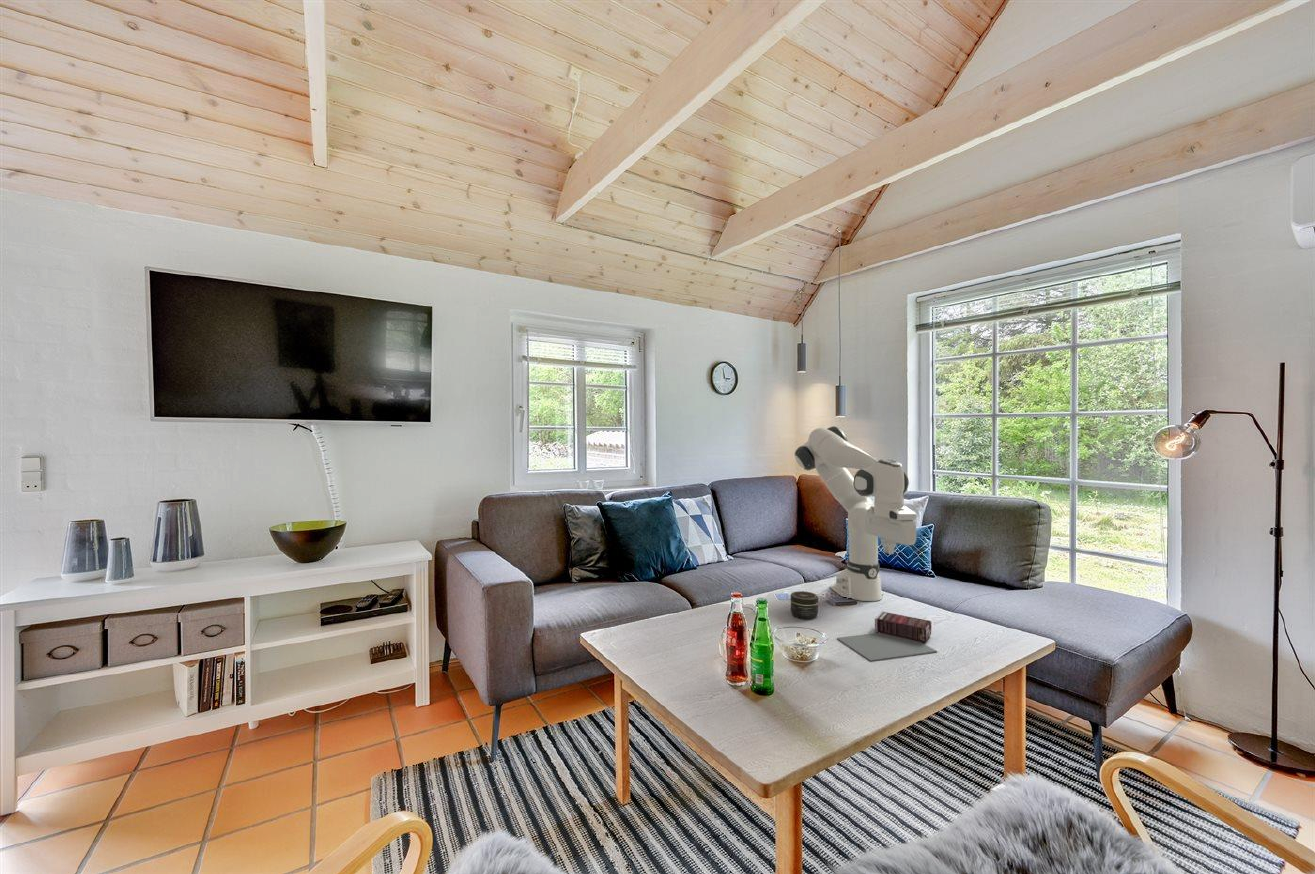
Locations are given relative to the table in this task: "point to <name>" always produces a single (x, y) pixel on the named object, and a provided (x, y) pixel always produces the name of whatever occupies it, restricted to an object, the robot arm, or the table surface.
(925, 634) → the supplement box
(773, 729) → the table surface
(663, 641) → the table surface
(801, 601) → the jar
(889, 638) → the mat
